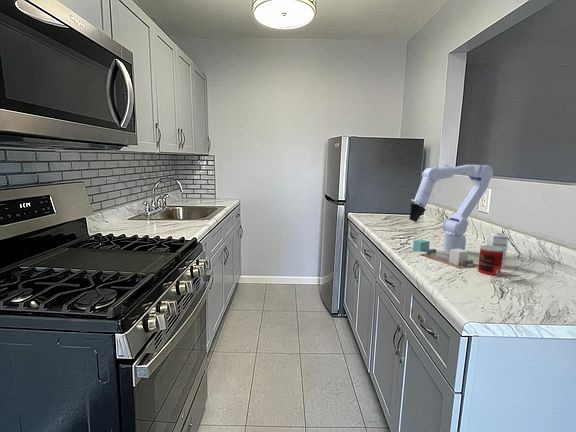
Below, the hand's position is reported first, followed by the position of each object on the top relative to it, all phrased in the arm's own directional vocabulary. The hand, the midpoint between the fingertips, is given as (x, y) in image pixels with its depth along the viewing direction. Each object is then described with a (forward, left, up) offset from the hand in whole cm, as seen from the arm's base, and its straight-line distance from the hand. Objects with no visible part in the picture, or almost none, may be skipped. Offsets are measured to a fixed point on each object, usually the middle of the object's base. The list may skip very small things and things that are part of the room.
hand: (412, 220), depth 159 cm
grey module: (-6, +21, -15) cm, 26 cm away
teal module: (-8, -1, -16) cm, 18 cm away
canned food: (-7, +34, -16) cm, 39 cm away
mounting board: (-6, +16, -16) cm, 23 cm away
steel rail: (-6, +16, -15) cm, 23 cm away
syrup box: (-18, +29, -16) cm, 38 cm away
